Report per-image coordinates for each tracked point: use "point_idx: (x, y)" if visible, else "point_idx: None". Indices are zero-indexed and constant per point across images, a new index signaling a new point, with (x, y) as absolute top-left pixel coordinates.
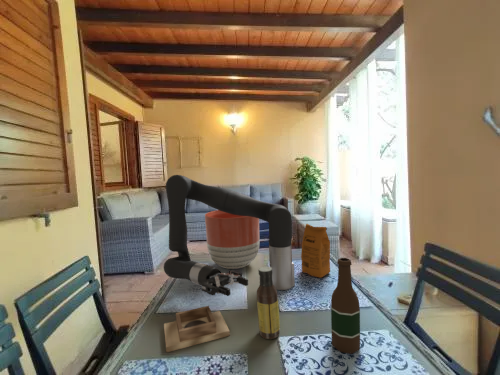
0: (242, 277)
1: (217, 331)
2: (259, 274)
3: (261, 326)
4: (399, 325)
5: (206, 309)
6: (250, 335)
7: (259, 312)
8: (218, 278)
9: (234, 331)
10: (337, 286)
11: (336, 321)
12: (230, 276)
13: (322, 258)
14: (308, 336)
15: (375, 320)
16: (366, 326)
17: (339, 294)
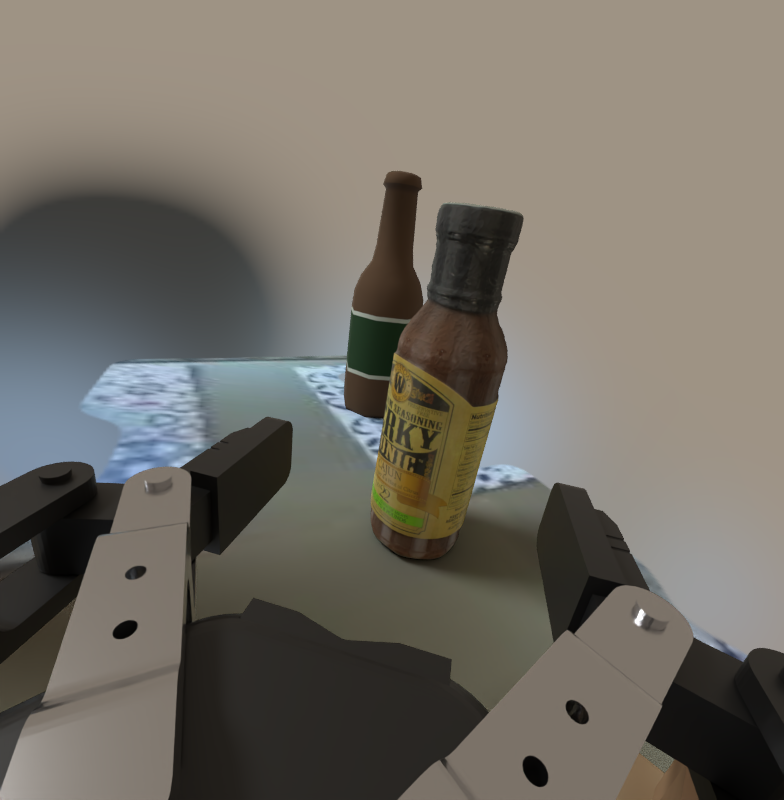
0: (228, 445)
1: (640, 787)
2: (514, 241)
3: (468, 502)
4: (275, 357)
5: None
6: (468, 595)
7: (481, 450)
8: (478, 736)
9: (494, 698)
10: (404, 257)
11: None
12: (186, 574)
13: None
14: (373, 448)
15: (260, 370)
16: (289, 380)
17: (414, 275)
